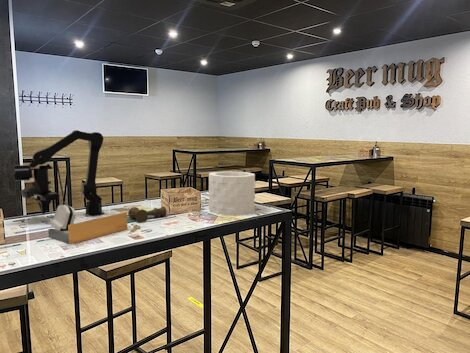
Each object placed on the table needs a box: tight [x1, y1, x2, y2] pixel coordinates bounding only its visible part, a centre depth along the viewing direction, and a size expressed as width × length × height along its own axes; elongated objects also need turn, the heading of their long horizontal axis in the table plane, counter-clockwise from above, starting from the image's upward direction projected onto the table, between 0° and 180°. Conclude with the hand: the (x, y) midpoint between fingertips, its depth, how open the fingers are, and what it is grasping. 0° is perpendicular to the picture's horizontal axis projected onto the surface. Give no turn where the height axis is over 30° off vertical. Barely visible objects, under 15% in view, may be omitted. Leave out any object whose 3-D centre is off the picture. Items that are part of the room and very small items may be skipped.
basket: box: [208, 170, 256, 216], centre depth 186 cm, size 25×24×19 cm
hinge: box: [48, 204, 76, 231], centre depth 153 cm, size 17×5×10 cm, turn 39°
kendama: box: [127, 206, 167, 224], centre depth 166 cm, size 6×10×20 cm
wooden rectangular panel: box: [48, 211, 128, 245], centre depth 144 cm, size 25×15×7 cm, turn 145°
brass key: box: [129, 225, 141, 233], centre depth 149 cm, size 7×3×1 cm, turn 175°
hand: (43, 213), depth 163 cm, fingers closed
